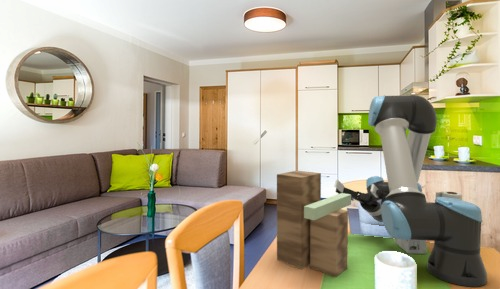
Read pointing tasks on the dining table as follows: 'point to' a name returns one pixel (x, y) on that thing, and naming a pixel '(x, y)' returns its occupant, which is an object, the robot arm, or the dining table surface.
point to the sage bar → (326, 206)
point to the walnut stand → (309, 226)
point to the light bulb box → (412, 245)
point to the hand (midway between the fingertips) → (353, 185)
